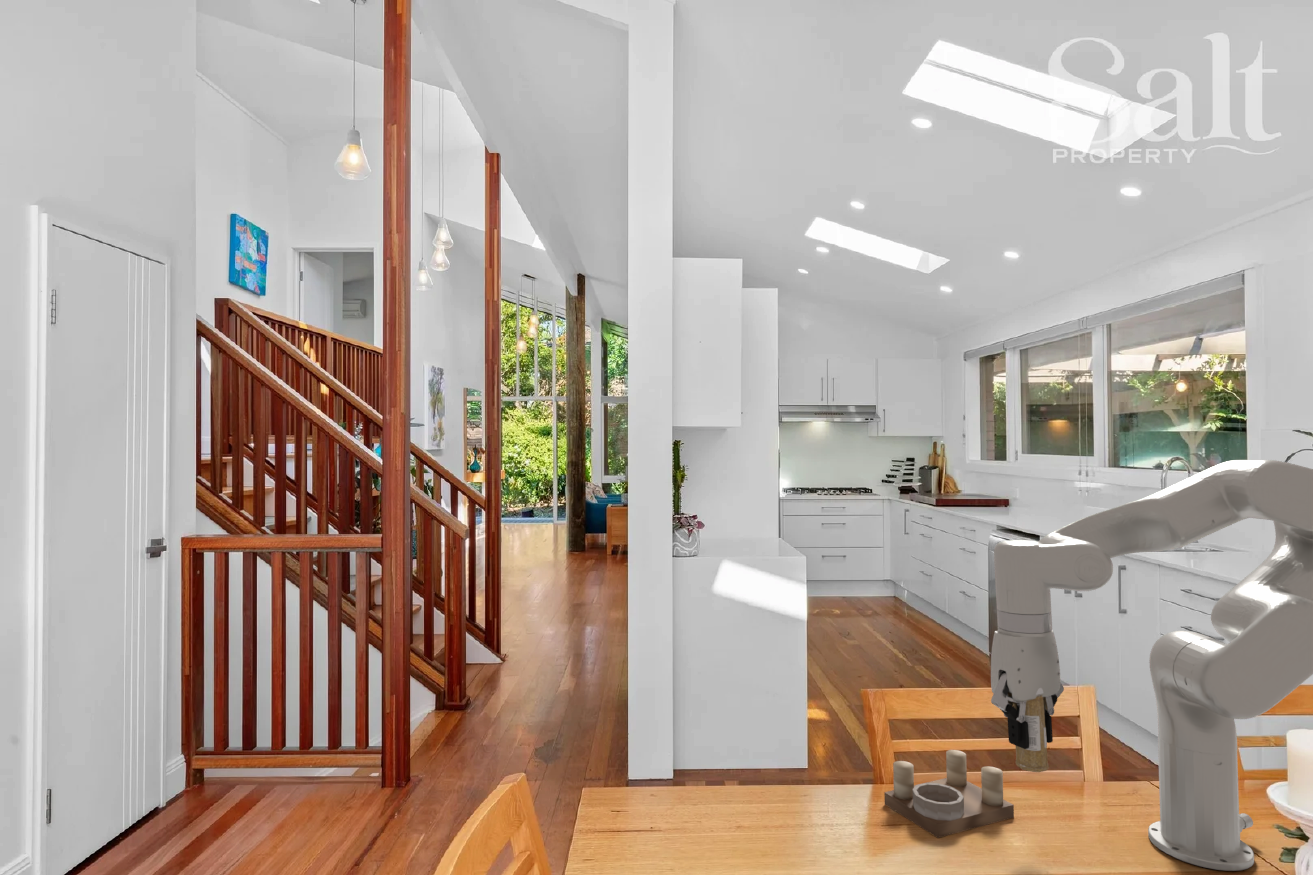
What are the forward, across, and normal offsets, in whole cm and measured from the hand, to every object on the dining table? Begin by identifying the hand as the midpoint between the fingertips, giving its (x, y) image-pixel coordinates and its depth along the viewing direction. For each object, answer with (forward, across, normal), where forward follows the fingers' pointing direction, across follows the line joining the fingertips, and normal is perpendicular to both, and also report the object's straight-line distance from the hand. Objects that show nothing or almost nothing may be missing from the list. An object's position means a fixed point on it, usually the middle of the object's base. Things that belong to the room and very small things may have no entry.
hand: (1030, 741), depth 112 cm
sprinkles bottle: (+4, 0, 0) cm, 4 cm away
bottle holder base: (+15, +5, -13) cm, 20 cm away
